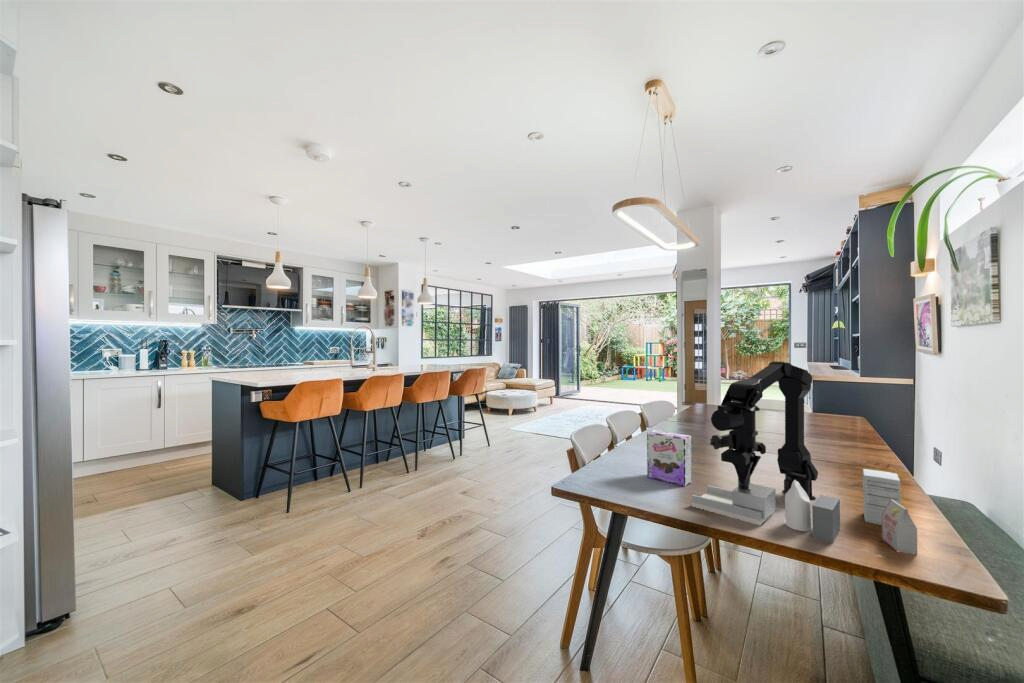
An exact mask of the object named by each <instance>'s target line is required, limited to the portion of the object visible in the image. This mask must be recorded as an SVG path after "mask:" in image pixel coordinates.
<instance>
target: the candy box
mask: <svg viewBox="0 0 1024 683" xmlns="http://www.w3.org/2000/svg"><path fill="white" fill-rule="evenodd" d="M646 435H647V436H646V438H647V439H646V442H647V444H646V447H647V448H646V451H647V452H646V457H647V460H646V461H647V462H646V464H647V465H646V466H647V467H646V468H647V469H646V470H647V471H646V472H647V474H646V475H647V478H648V477H649V479H652V478H654V479H653V480H657V479H658V480H657V481H661V480H662V481H661V482H665V481H666V483H669V482H671V483H670V484H673V483H675V484H674V485H677V484H679V485H678V486H681V485H683V486H682V487H686V485H687V484H688V485H690V484H692V436H691V435H688V434H681V433H675V432H674V433H673V432H667V431H661V430H656V429H652V430H650V431H648V432H647V433H646ZM689 483H690V484H689ZM688 485H687V486H688Z"/></svg>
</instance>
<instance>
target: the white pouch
mask: <svg viewBox="0 0 1024 683" xmlns="http://www.w3.org/2000/svg"><path fill="white" fill-rule="evenodd" d="M811 511H812V508H811V499H809V497H808V495H807V493H806V492H805V491H804V489H803V488H802V487H801V485H800V484H799V482H798V481H796V480H794V481H793V482H792V485H791V488H790V489H789V491H788V492H787V493H786V494H785V495H784V513H785V514H784V515H785V525H786V526H787V527H788V528H790V529H792V530H795V531H800V532H809V531H811V530H812V512H811Z"/></svg>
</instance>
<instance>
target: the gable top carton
mask: <svg viewBox="0 0 1024 683" xmlns="http://www.w3.org/2000/svg"><path fill="white" fill-rule="evenodd" d="M881 540H882V541H884V542H885V541H886V542H887V543H888V544H889V545H890V546H889V545H888V544H887V543H886V542H885V543H886V544H887V545H888V546H889V547H890V548H892V547H893V548H894V549H895V550H896V551H899V552H898V553H900V552H906V553H905V554H908V553H914V554H913V555H916V554H917V555H918V527H917V526H916V525H915V523H914V521H913V520H912V518H911V516H910V514H909V512H908V509H907V508H905V507H904V506H903V505H900V504H898V503H897V502H895V501H894V500H891V499H889V503H888V505H887V507H886V508H885V510H884V512H883V513H882V525H881ZM893 548H892V549H893ZM894 549H893V550H894ZM895 550H894V551H895ZM896 551H895V552H896Z"/></svg>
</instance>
